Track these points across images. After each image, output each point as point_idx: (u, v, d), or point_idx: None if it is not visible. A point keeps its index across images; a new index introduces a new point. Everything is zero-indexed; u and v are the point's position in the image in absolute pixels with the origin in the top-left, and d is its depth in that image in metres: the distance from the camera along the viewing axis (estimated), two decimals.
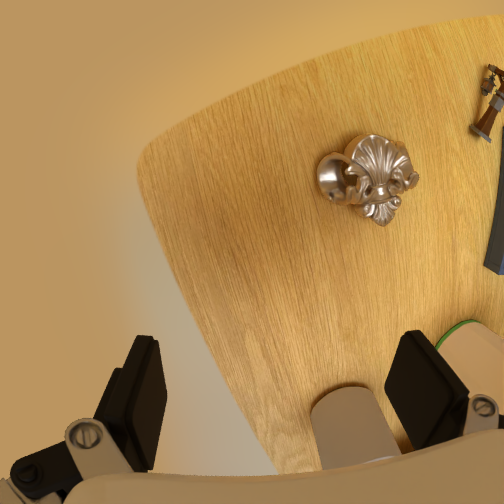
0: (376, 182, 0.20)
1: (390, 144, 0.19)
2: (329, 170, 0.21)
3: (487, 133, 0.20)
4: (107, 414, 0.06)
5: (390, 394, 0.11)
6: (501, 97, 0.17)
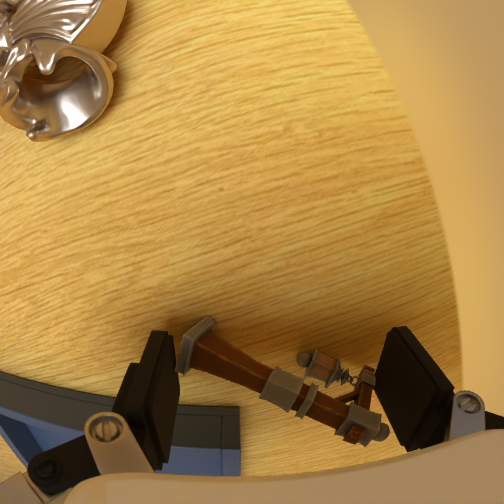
0: (13, 18, 0.05)
1: (82, 17, 0.05)
2: None
3: (196, 363, 0.11)
4: (127, 407, 0.07)
5: (378, 390, 0.11)
6: (298, 401, 0.10)
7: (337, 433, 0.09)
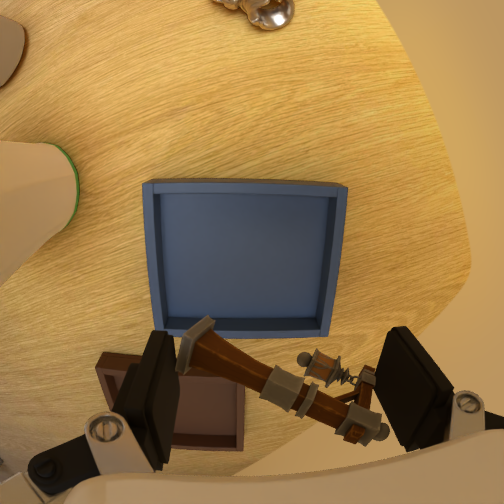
0: None
1: None
2: None
3: (196, 362, 0.11)
4: (127, 407, 0.07)
5: (377, 390, 0.11)
6: (298, 401, 0.10)
7: (337, 433, 0.09)
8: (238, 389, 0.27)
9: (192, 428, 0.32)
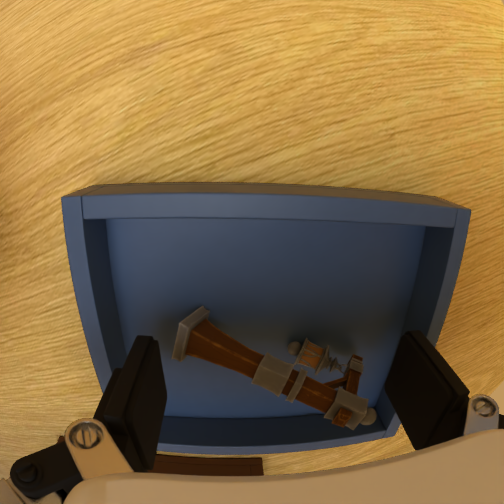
0: None
1: None
2: None
3: (192, 350, 0.11)
4: (107, 414, 0.06)
5: (390, 394, 0.11)
6: (288, 386, 0.10)
7: (326, 417, 0.10)
8: None
9: None
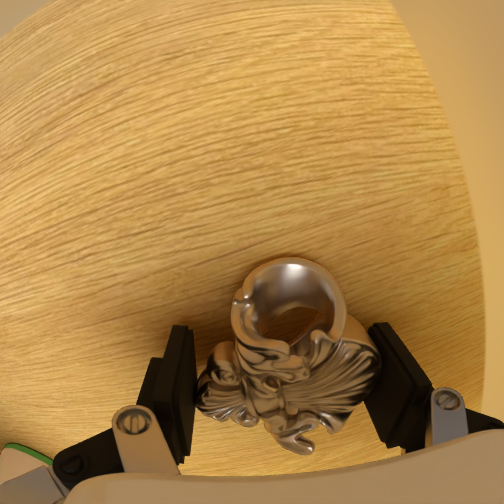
0: (289, 390, 0.09)
1: (362, 400, 0.10)
2: (301, 285, 0.10)
3: None
4: (155, 399, 0.07)
5: None
6: None
7: None
8: None
9: None
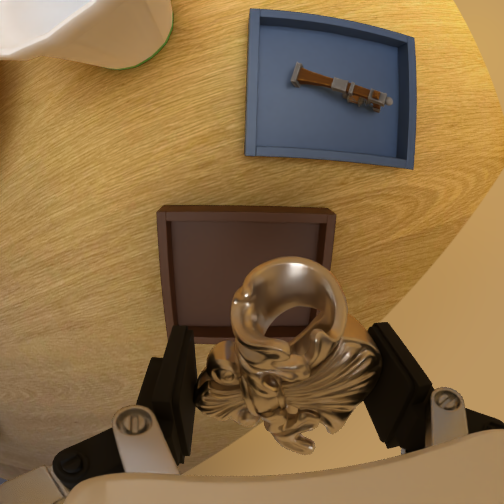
0: (289, 390, 0.09)
1: (362, 399, 0.10)
2: (301, 284, 0.10)
3: (300, 76, 0.22)
4: (155, 399, 0.07)
5: None
6: (348, 85, 0.21)
7: (369, 99, 0.20)
8: (328, 232, 0.26)
9: None
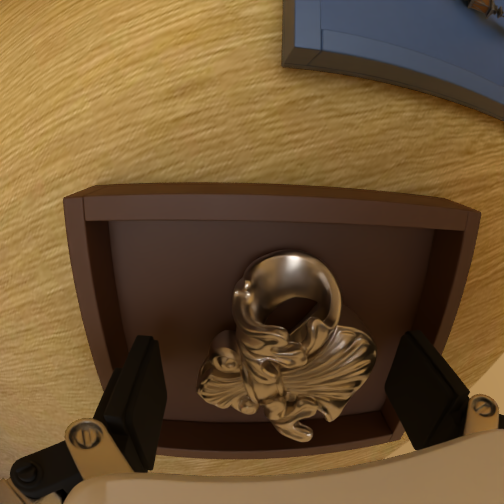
0: (288, 376, 0.10)
1: (358, 387, 0.10)
2: (298, 276, 0.11)
3: None
4: (107, 414, 0.06)
5: (390, 394, 0.11)
6: None
7: None
8: (464, 249, 0.10)
9: None
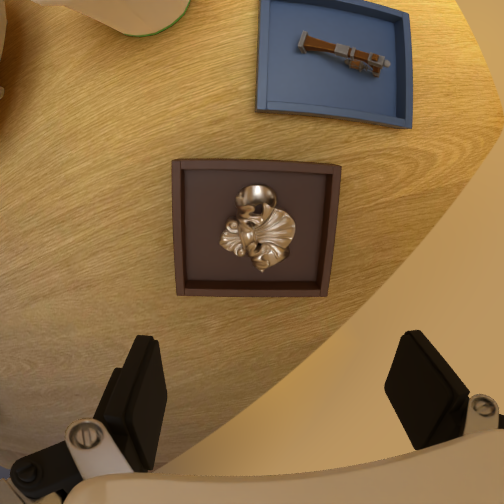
0: (256, 230, 0.27)
1: (288, 241, 0.27)
2: (261, 193, 0.28)
3: (306, 43, 0.22)
4: (107, 414, 0.06)
5: (390, 394, 0.11)
6: (350, 50, 0.21)
7: (368, 61, 0.21)
8: (334, 182, 0.26)
9: (266, 270, 0.31)
